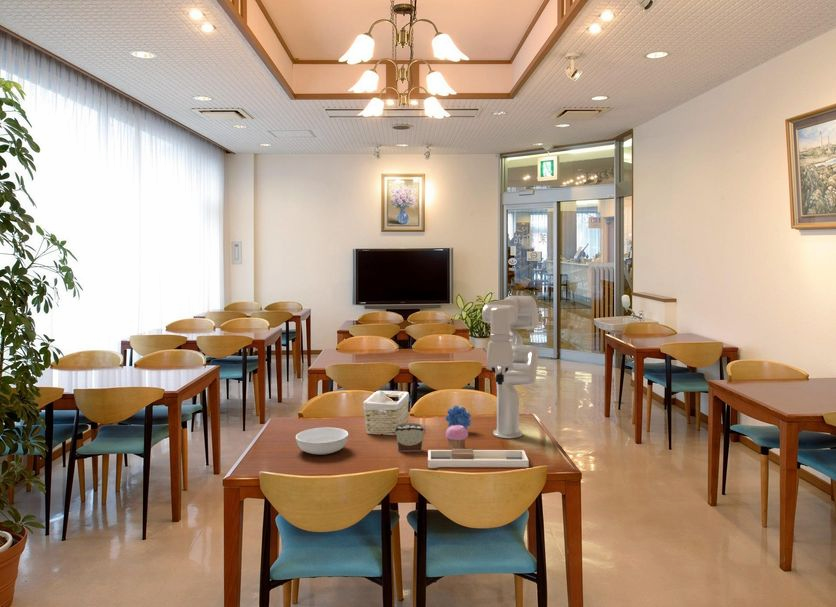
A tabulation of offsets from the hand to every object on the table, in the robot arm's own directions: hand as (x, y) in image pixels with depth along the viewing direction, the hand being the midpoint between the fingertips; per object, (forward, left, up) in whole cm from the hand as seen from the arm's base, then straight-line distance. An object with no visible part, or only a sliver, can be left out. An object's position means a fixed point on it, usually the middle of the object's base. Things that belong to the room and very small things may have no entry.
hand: (499, 383), depth 255 cm
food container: (-2, -36, -27) cm, 45 cm away
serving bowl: (+1, -71, -27) cm, 76 cm away
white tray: (+15, -10, -27) cm, 33 cm away
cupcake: (-1, -17, -27) cm, 32 cm away
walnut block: (+15, -15, -27) cm, 34 cm away
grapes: (-25, -15, -27) cm, 40 cm away
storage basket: (-32, -47, -28) cm, 63 cm away
